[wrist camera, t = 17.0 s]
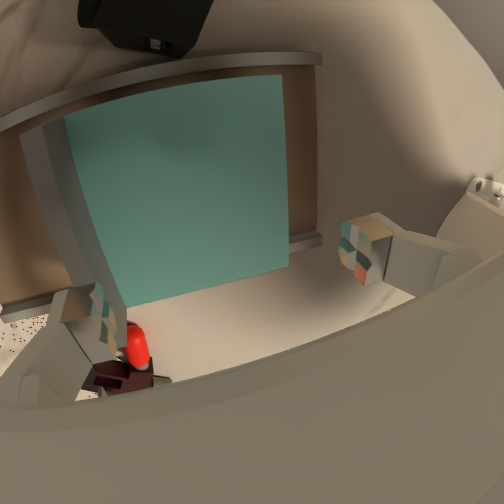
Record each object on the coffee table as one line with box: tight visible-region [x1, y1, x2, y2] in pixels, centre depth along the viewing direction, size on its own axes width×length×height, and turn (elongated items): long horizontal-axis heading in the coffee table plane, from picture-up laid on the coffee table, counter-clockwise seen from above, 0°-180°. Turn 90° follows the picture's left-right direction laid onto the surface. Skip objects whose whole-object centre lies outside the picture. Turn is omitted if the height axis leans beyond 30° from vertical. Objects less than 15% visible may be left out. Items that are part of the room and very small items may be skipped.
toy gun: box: [81, 325, 172, 398], centre depth 24 cm, size 10×12×5 cm
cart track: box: [0, 51, 322, 323], centre depth 17 cm, size 26×14×2 cm, turn 95°
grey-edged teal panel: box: [19, 75, 289, 349], centre depth 15 cm, size 11×11×7 cm
